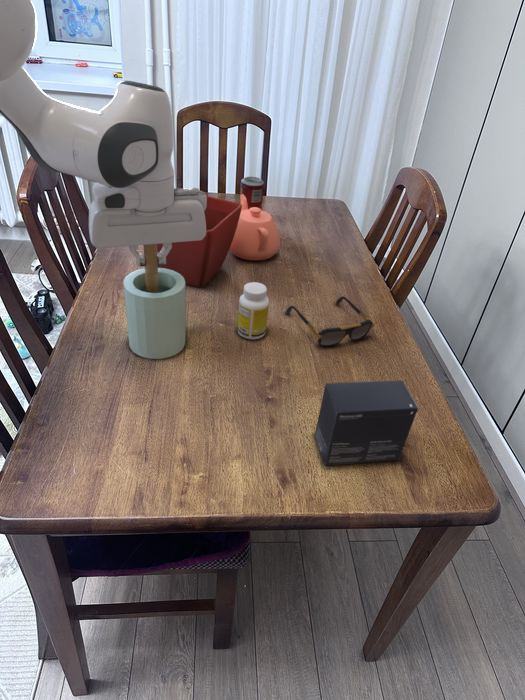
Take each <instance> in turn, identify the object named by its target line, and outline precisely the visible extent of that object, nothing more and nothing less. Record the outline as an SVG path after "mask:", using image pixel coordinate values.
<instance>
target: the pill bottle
mask: <svg viewBox="0 0 525 700" xmlns="http://www.w3.org/2000/svg"><path fill="white" fill-rule="evenodd" d="M267 292H268V288H267V286H266V285H265V284H263V283H261V282H256V281H251V282H248V283H245V284H244V286H243V292H242V294H241V295H240V297H239V300H238V314H237V315H238V316H237V333H238V335H239V336H241V337H242V338H244V339H247V340H259V339H261V338H263V337H264V336H265V335H266V332H267V325H268V317H269V316H268V315H269V307H270V300H269V297H268V295H267Z"/></svg>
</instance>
